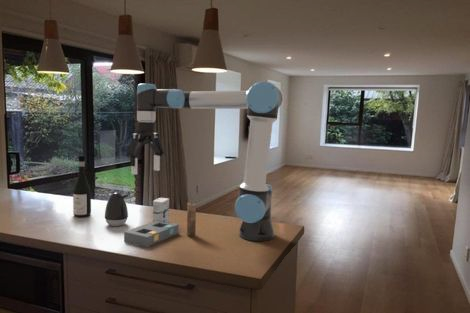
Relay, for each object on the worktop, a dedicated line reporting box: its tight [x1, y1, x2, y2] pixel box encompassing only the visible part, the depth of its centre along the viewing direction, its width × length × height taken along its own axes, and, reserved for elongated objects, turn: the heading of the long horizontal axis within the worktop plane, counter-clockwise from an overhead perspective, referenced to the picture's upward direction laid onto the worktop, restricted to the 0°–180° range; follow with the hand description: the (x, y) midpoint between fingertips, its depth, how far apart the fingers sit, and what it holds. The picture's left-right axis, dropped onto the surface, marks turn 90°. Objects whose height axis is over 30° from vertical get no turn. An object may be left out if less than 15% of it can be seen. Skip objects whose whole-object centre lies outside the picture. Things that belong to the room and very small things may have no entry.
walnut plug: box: [186, 202, 197, 237], centre depth 158 cm, size 4×4×14 cm
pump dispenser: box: [104, 191, 129, 227], centre depth 170 cm, size 10×10×15 cm
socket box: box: [123, 220, 179, 248], centre depth 154 cm, size 12×20×4 cm, turn 153°
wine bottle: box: [72, 154, 92, 218], centre depth 182 cm, size 8×8×30 cm
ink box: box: [152, 197, 170, 223], centre depth 173 cm, size 8×5×12 cm, turn 168°
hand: (145, 172), depth 156 cm, fingers open, 13 cm apart
